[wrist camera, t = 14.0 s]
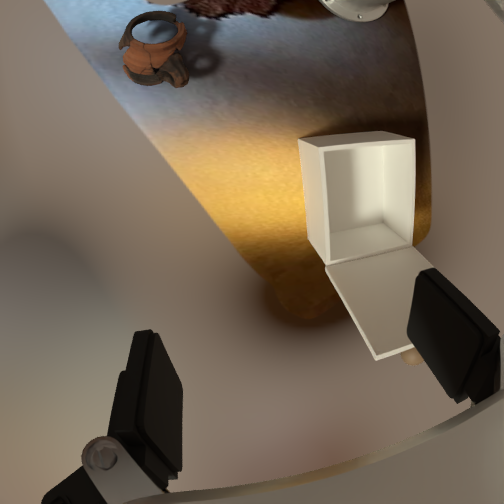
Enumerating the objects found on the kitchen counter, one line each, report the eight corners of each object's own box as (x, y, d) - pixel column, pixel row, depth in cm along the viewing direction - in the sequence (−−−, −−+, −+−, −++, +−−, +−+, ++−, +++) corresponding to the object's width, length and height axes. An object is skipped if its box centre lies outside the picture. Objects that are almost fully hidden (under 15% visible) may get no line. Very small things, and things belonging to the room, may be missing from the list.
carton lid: (376, 355, 28) (367, 392, 31) (479, 315, 29) (462, 354, 32) (325, 266, 42) (325, 305, 46) (413, 246, 43) (407, 283, 46)
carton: (297, 138, 43) (318, 147, 35) (382, 130, 43) (415, 139, 35) (307, 238, 50) (326, 265, 42) (384, 223, 51) (411, 246, 43)
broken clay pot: (108, 67, 35) (103, 30, 27) (160, 34, 37) (163, -4, 29) (162, 116, 37) (164, 82, 29) (213, 78, 39) (226, 43, 31)
